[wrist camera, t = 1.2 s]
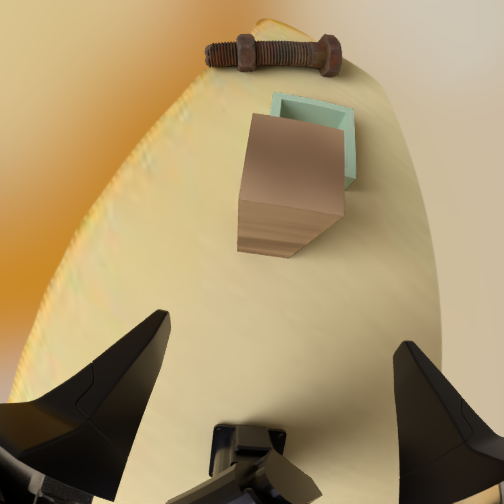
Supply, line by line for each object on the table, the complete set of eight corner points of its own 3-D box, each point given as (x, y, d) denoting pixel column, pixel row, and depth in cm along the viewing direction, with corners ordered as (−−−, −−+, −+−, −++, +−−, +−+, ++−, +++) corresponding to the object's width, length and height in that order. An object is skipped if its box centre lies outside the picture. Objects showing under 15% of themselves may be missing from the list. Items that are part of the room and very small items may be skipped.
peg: (288, 258, 24) (343, 216, 11) (237, 251, 24) (238, 199, 11) (293, 209, 25) (343, 130, 12) (244, 202, 25) (252, 112, 12)
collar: (344, 190, 25) (356, 178, 22) (261, 176, 25) (264, 161, 22) (343, 124, 27) (353, 108, 24) (270, 109, 26) (273, 91, 23)
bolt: (209, 73, 29) (326, 72, 30) (206, 83, 26) (339, 83, 27) (205, 31, 25) (329, 33, 25) (202, 35, 22) (344, 38, 22)
